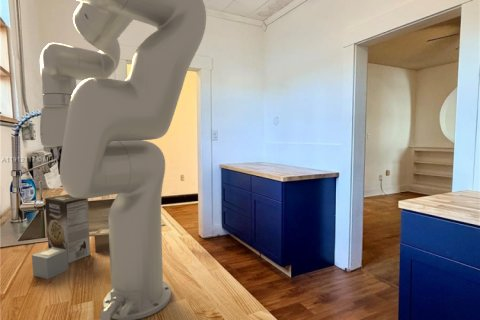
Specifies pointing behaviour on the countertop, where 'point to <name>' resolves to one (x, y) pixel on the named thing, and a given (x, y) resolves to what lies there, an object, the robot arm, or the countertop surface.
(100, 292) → the countertop surface
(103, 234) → the walnut block
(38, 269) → the slate block
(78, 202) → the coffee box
